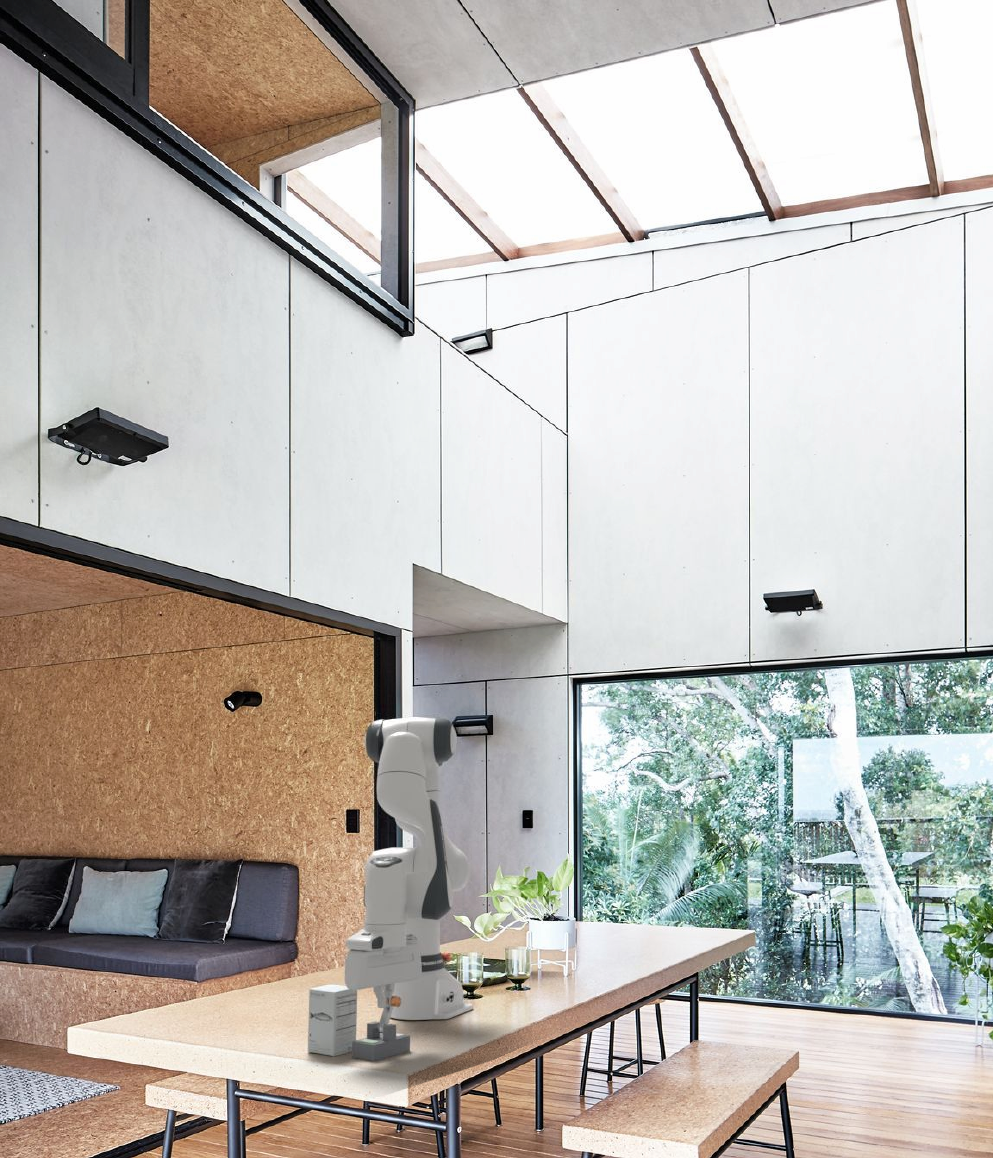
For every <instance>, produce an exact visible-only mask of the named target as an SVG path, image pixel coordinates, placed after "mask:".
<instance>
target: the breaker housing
mask: <svg viewBox="0 0 993 1158" xmlns="http://www.w3.org/2000/svg"><path fill="white" fill-rule="evenodd" d="M379 1022H380V1021H371V1022H367V1023H366V1037H364V1038H361V1039H356V1041H352V1051H351V1058H355V1059H359V1060H360V1059H361V1060H365V1061H372V1062H376V1061H380V1060H383V1059H387V1058H389V1057H395V1056H397V1055H400V1054H401V1055H402V1054H404V1053H407V1052H410V1051H411V1035H409V1034H402V1033H397V1024H396V1023H395V1024H393V1023H388V1025H385V1026H383V1034H382V1033H377V1032H376V1028H377V1027H378V1025H379Z"/></svg>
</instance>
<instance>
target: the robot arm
mask: <svg viewBox="0 0 993 1158" xmlns="http://www.w3.org/2000/svg"><path fill="white" fill-rule="evenodd" d="M457 742H458V736H457V733H456V729H455V727H454V724H453V722H452V721H451V720H450V719H447V718H442V717H436V718H433V717H424V716H423V717H422V716H418V717H417V716H410V717H401V718H392V719H385V718H383V719H377V720H374V721H372V722H371V723H370V724H369V725H368V726H367V729H366V732H365V736H364V748H365V752H366V754H367V757H368V758H369V759H370V760H372V762H373V763H374V762H375V763H377V764H378V767H377V777H376V799H377V802H378V804H379V806H380V807H381V809H382V810H383V811H384V812H385V813H386V814H388V815H389V816H391V817H393V818H394V820H395V823H396V825H397V826H398V827H399V828H400V829H401V830H403V831H404V832H406V833H408V834H410V835H413V836H414V837H415V839H416V840H417V843H418V845H419V846H418V847H388V848H382V849H378V850H374V851H373V852H372V853H371V854H370V855H369V857H368V858H367V860H366V863H365V867H364V875H365V884H364V887H363V905H364V908H365V909H366V911H365V917H364V921H363V928H362V929H360V930H359V931H358V932H356V933H354V934H353V935H351V936H349V937H348V938H347V939H346V941H345V947H346V949H347V950H349V951H347V953H346V955H345V960H344V985H345V986H347V988H348V989H354V990H357V991H360V990H366V989H371V988H373V993H374V995H375V997H376V1000H377V1003H376V1004H377V1008H379V1009H384V1008H387V1007H390V1005H391V997H392V996H397V997H400V998H401V1005H400V1006H399V1007H393V1011H392V1014H391V1017H390V1019H396V1020H403V1021H405V1020H406V1021H422V1020H423V1021H424V1020H448V1019H452V1018H453V1017H456V1016H458V1015H461V1014H464V1013H466V1012H469V1011H471V1010H473V1009H474V1005H473V1004H472V1003H469V1002H466V1001H464V991H463V986H462V983H461V982H460V981H459V980H458V979H457V978H456V977H455V976H454V975H452V974H451V973H450V972H449V971H448V970H447V969H446V964H445V962H447V963H450V962H451V960H452V954H451V953H450V952H446V953H445V952H441V923H440V919H441V918H443V917H444V916H446V915H447V914H448V913H449V912H450V911H451V910H452V907H453V903H454V902H453V901H454V892H458V891H462V890H463V889H464V888H465V887H466V885H467V883H468V882H469V879H470V877H471V876H470V875H471V864H470V861H469V859H468V857H467V855H466V854H465V852H463V851H462V849H460V848H458V847H457V846H456V845H455V844H454V843H453V842H452V840H450V838H449V836H448V835H447V833H446V831H445V829H444V826H443V822H442V815H441V804H440V802H441V801H440V777H439V775H440V774H439V769H438V767H441V766H443V763H445V762H448V761H449V760H450V759H451V758H453V755H454V754H455V750H456V748H457V744H458V743H457Z"/></svg>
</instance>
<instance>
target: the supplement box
mask: <svg viewBox="0 0 993 1158" xmlns="http://www.w3.org/2000/svg"><path fill="white" fill-rule="evenodd" d="M308 992H309V993H308V1002H309V1003H308V1025H307V1027H308V1028H307V1029H308V1031H307V1033H308V1034H307V1053H313V1054H320V1055H324V1056H325V1055H326V1056H331V1057H338V1056H340V1055H344V1054H348V1053H352V1041H356V1040H357V1023H358V1022H357V1020H358V1017H357V1014H358V990H354V989H348V988H347V986H346V985H342V984H341V985H340V984H324V985H322V986H316V987H313V988H309V991H308Z"/></svg>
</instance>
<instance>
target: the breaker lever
mask: <svg viewBox="0 0 993 1158" xmlns="http://www.w3.org/2000/svg"><path fill="white" fill-rule="evenodd" d="M400 1005H401V998H400V997H397V996H392V997H391V1005H390V1007H387V1008H382V1009H383V1010H382V1013H381V1015H380V1019H379V1021H378V1022H379V1025H378V1027H377V1028H376V1032H377V1033H380V1034H383V1026H385V1025H389V1024H390V1020H391V1014H392V1011H393V1007H399V1006H400Z"/></svg>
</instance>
